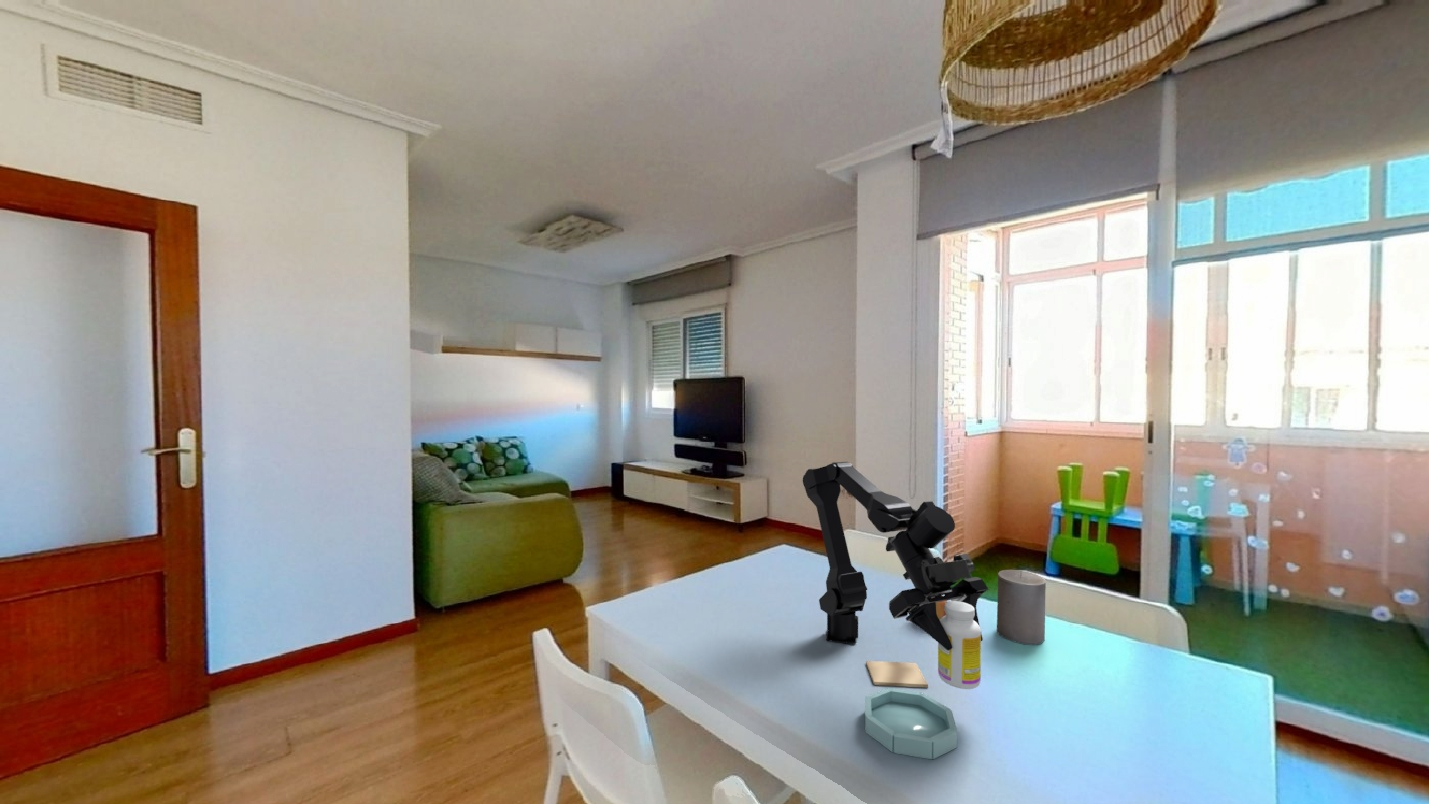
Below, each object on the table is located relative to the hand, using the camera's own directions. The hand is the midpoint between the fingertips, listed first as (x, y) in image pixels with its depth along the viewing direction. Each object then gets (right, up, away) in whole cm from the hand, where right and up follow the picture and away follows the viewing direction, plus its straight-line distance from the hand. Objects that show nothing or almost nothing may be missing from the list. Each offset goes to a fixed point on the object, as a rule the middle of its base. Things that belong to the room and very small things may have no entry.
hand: (965, 645), depth 89 cm
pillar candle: (+28, -13, +33) cm, 45 cm away
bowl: (-10, -13, -1) cm, 17 cm away
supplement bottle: (-1, -7, +1) cm, 7 cm away
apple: (+11, -13, +40) cm, 43 cm away
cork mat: (-7, -13, +15) cm, 21 cm away
